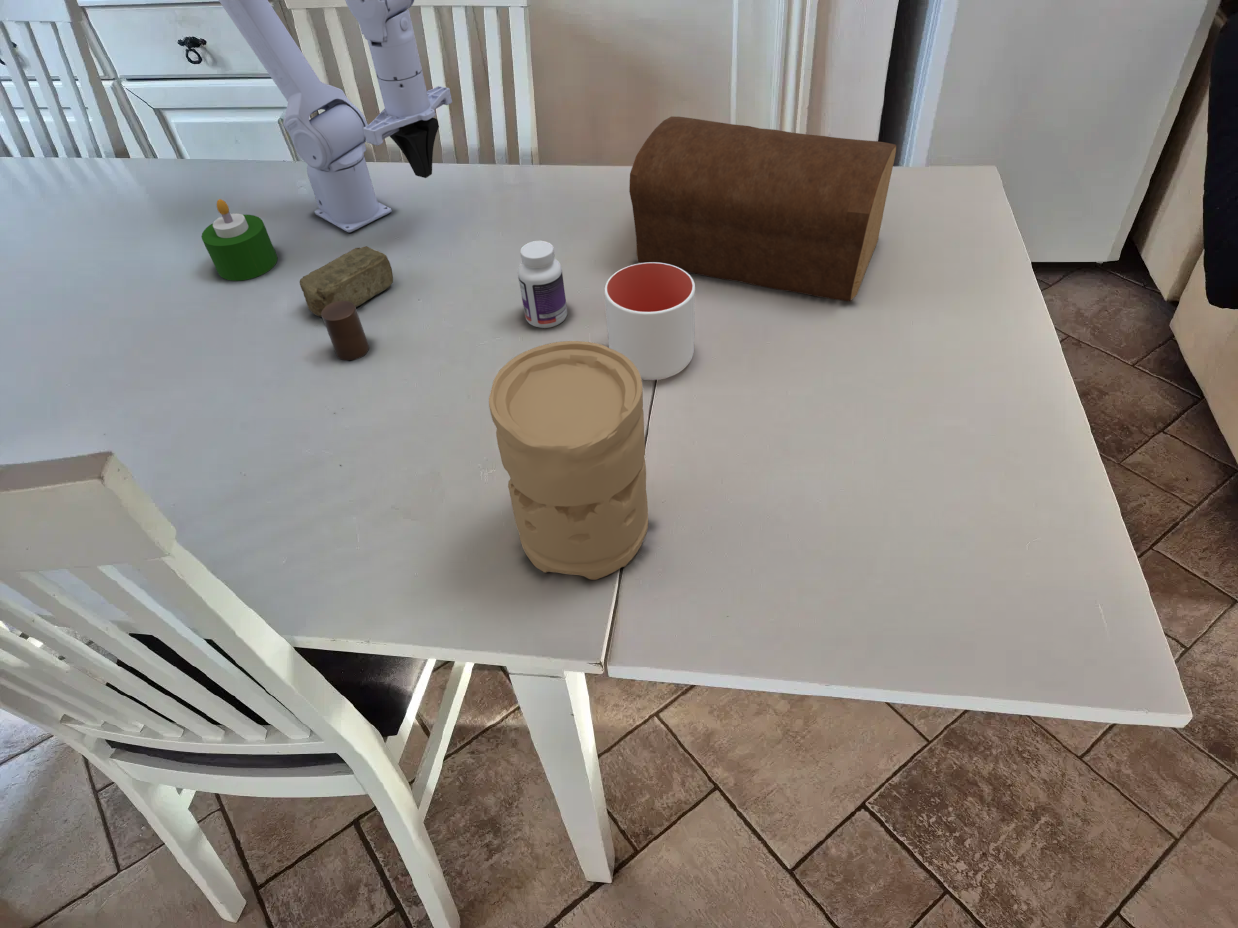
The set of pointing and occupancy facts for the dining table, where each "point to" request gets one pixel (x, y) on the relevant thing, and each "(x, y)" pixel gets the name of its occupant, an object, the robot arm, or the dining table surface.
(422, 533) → the dining table surface
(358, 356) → the post
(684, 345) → the cup
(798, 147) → the bread
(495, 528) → the dining table surface
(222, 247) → the candle
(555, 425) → the container
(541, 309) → the pill bottle
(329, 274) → the stone block
